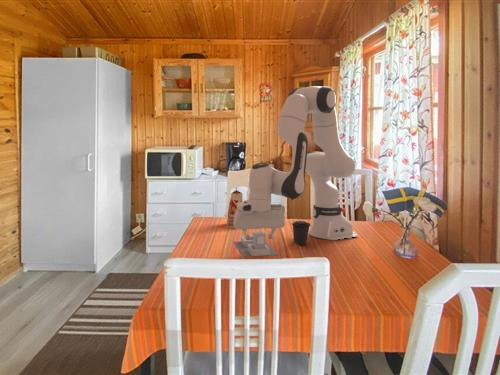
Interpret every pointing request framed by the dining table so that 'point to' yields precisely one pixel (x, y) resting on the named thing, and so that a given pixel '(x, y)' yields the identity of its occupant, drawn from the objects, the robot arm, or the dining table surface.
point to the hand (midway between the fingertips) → (258, 239)
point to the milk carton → (233, 207)
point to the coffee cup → (300, 232)
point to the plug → (258, 240)
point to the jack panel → (248, 251)
